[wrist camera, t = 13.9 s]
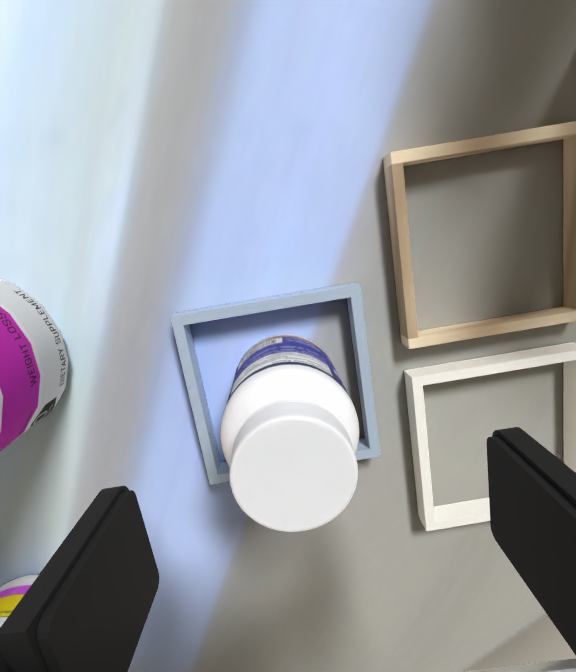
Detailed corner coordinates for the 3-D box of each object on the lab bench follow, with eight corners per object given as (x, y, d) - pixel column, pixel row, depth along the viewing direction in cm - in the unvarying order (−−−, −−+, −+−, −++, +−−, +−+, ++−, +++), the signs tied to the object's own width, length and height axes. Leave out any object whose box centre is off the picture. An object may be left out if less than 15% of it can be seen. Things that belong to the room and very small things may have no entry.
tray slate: (355, 282, 20) (360, 284, 18) (375, 444, 22) (380, 456, 20) (176, 312, 20) (170, 316, 18) (213, 471, 22) (210, 484, 20)
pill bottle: (329, 430, 21) (367, 556, 13) (232, 424, 21) (203, 549, 12) (340, 335, 20) (390, 403, 12) (237, 327, 20) (210, 391, 11)
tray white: (572, 341, 21) (590, 347, 20) (572, 490, 23) (588, 504, 22) (404, 370, 21) (412, 377, 20) (418, 516, 23) (426, 531, 22)
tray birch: (573, 126, 18) (594, 118, 17) (572, 314, 20) (591, 318, 19) (382, 158, 18) (390, 152, 17) (401, 343, 20) (409, 349, 19)
